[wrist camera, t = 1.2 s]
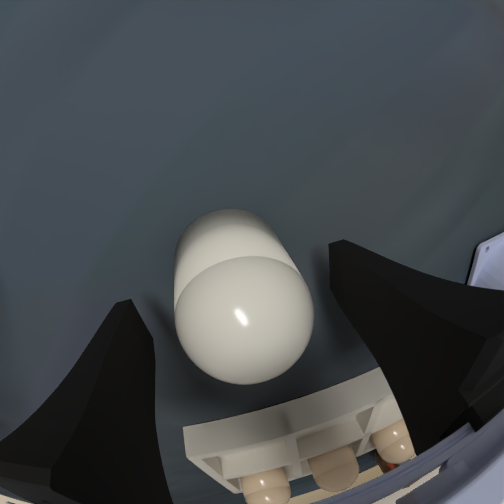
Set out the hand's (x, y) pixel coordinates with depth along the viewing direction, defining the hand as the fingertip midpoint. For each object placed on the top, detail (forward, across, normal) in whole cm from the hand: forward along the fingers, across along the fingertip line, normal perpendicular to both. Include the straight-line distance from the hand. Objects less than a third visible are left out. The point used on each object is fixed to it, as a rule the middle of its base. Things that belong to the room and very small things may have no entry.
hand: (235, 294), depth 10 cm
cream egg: (+2, 0, 0) cm, 3 cm away
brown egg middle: (+2, -4, +23) cm, 24 cm away
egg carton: (+2, -4, +20) cm, 21 cm away
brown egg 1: (+2, +3, +23) cm, 24 cm away
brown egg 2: (+2, -11, +23) cm, 26 cm away
